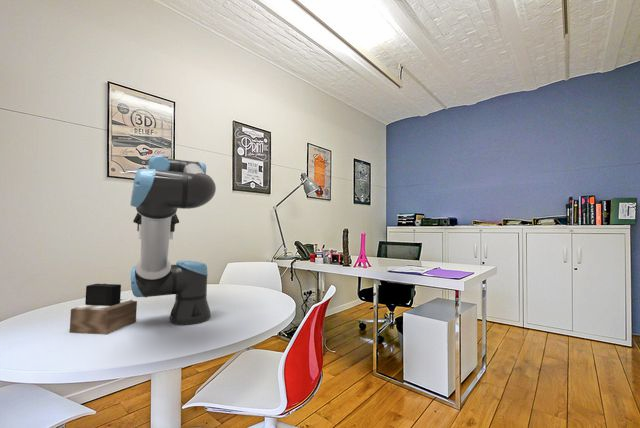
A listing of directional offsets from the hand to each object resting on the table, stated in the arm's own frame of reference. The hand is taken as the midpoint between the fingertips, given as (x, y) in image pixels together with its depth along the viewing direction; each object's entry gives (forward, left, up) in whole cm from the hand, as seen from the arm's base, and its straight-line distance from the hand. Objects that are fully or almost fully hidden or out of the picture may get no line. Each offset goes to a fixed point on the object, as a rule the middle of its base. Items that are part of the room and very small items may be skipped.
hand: (155, 239), depth 131 cm
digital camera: (+4, +22, -23) cm, 32 cm away
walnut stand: (+4, +21, -32) cm, 38 cm away
